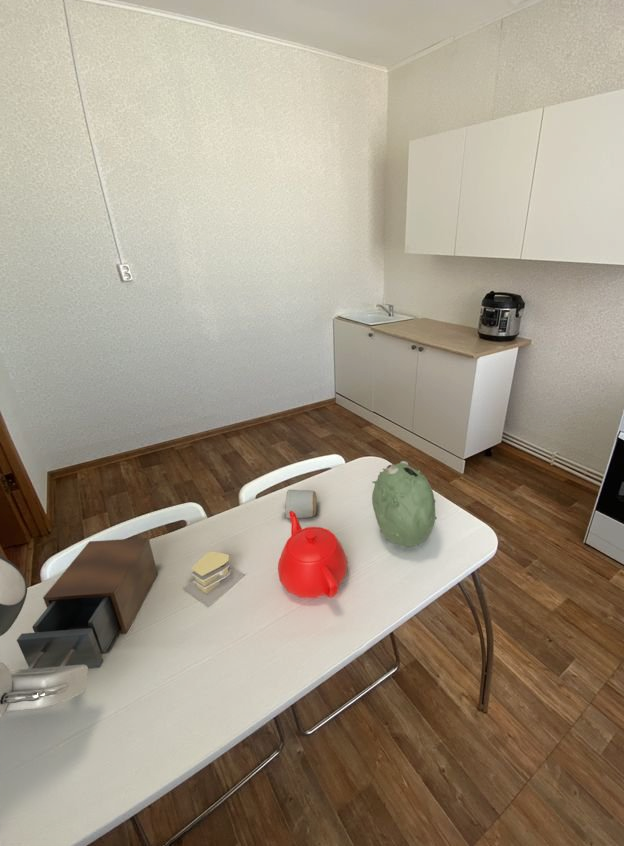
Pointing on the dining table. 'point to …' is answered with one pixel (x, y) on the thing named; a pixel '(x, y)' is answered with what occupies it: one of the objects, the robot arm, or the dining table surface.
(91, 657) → the dark grey drawer
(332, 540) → the teapot
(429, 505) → the green bumpy oval shape
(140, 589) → the cabinet
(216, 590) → the stacked layers on plate
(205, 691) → the dining table surface
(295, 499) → the ceramic mug
